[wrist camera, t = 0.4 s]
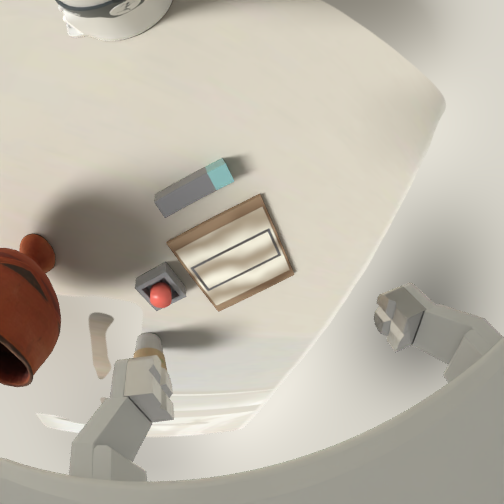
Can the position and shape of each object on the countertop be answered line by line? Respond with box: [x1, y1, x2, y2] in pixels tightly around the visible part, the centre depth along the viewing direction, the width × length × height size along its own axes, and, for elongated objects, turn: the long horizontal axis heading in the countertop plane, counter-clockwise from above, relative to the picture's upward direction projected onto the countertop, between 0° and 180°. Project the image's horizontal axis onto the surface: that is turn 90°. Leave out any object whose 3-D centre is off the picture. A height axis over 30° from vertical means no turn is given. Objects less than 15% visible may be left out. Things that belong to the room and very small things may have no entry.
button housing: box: [135, 262, 186, 311], centre depth 50 cm, size 7×7×3 cm
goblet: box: [0, 234, 61, 387], centre depth 30 cm, size 19×19×25 cm
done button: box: [150, 282, 172, 308], centre depth 48 cm, size 4×4×3 cm
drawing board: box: [167, 194, 294, 312], centre depth 52 cm, size 20×18×1 cm
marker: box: [154, 159, 234, 218], centre depth 41 cm, size 12×3×3 cm, turn 113°
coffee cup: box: [134, 333, 167, 371], centre depth 53 cm, size 9×9×15 cm
